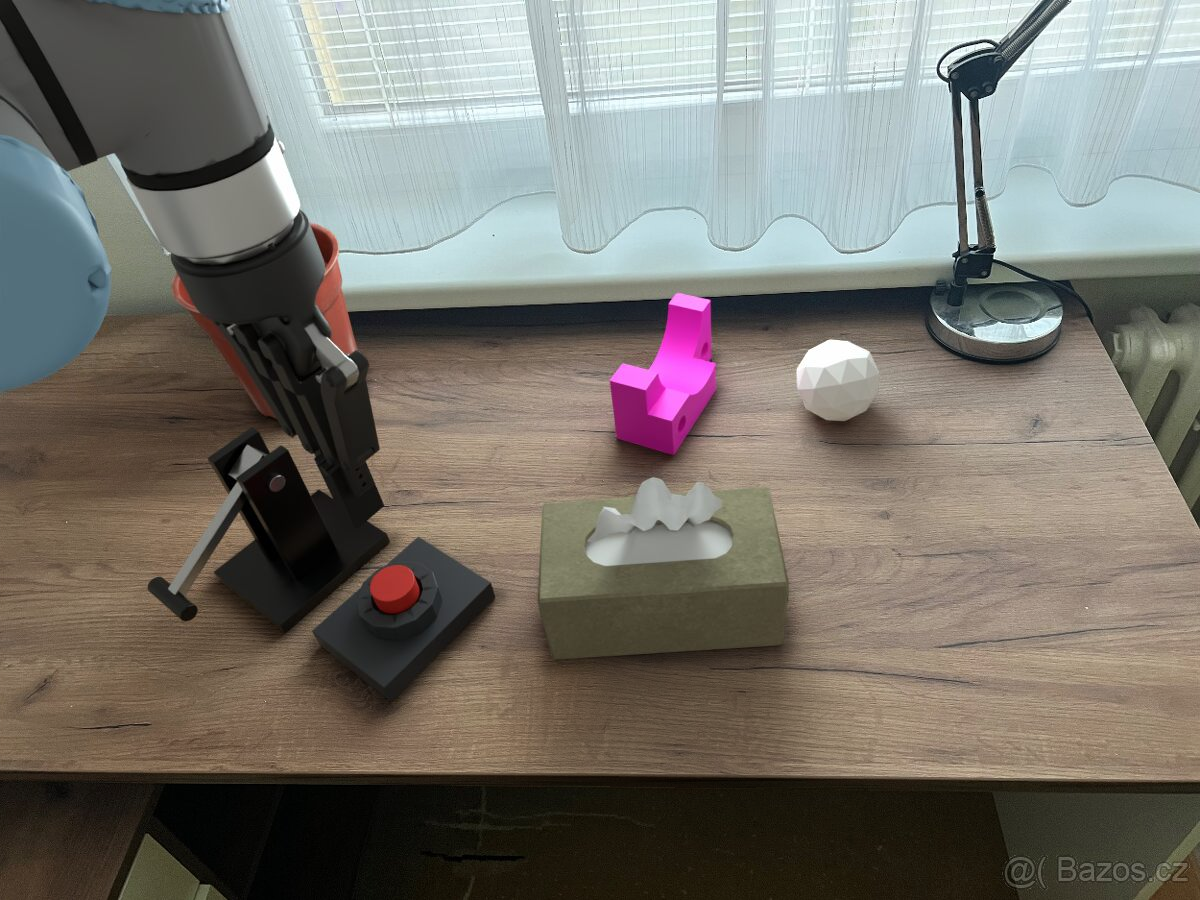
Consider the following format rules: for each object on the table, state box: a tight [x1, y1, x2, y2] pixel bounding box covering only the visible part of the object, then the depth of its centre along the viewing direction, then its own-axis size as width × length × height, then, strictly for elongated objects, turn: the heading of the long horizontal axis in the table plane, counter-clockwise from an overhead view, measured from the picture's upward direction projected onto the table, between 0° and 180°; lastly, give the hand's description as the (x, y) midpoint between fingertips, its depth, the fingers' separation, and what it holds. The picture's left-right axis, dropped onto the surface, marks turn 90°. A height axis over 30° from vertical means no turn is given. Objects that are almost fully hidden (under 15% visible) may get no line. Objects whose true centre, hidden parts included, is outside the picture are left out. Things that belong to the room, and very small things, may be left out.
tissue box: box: [537, 476, 790, 660], centre depth 67 cm, size 19×10×16 cm, turn 90°
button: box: [370, 565, 419, 614], centre depth 70 cm, size 4×4×2 cm
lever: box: [146, 445, 268, 622], centre depth 70 cm, size 14×5×2 cm, turn 139°
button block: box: [311, 536, 496, 702], centre depth 72 cm, size 12×9×4 cm
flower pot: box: [170, 222, 358, 420], centre depth 92 cm, size 16×16×16 cm
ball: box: [795, 339, 880, 422], centre depth 84 cm, size 8×8×8 cm
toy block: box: [609, 292, 717, 456], centre depth 87 cm, size 15×6×8 cm, turn 151°
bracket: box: [207, 426, 391, 634], centre depth 75 cm, size 12×10×14 cm
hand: (364, 513), depth 64 cm, fingers closed
